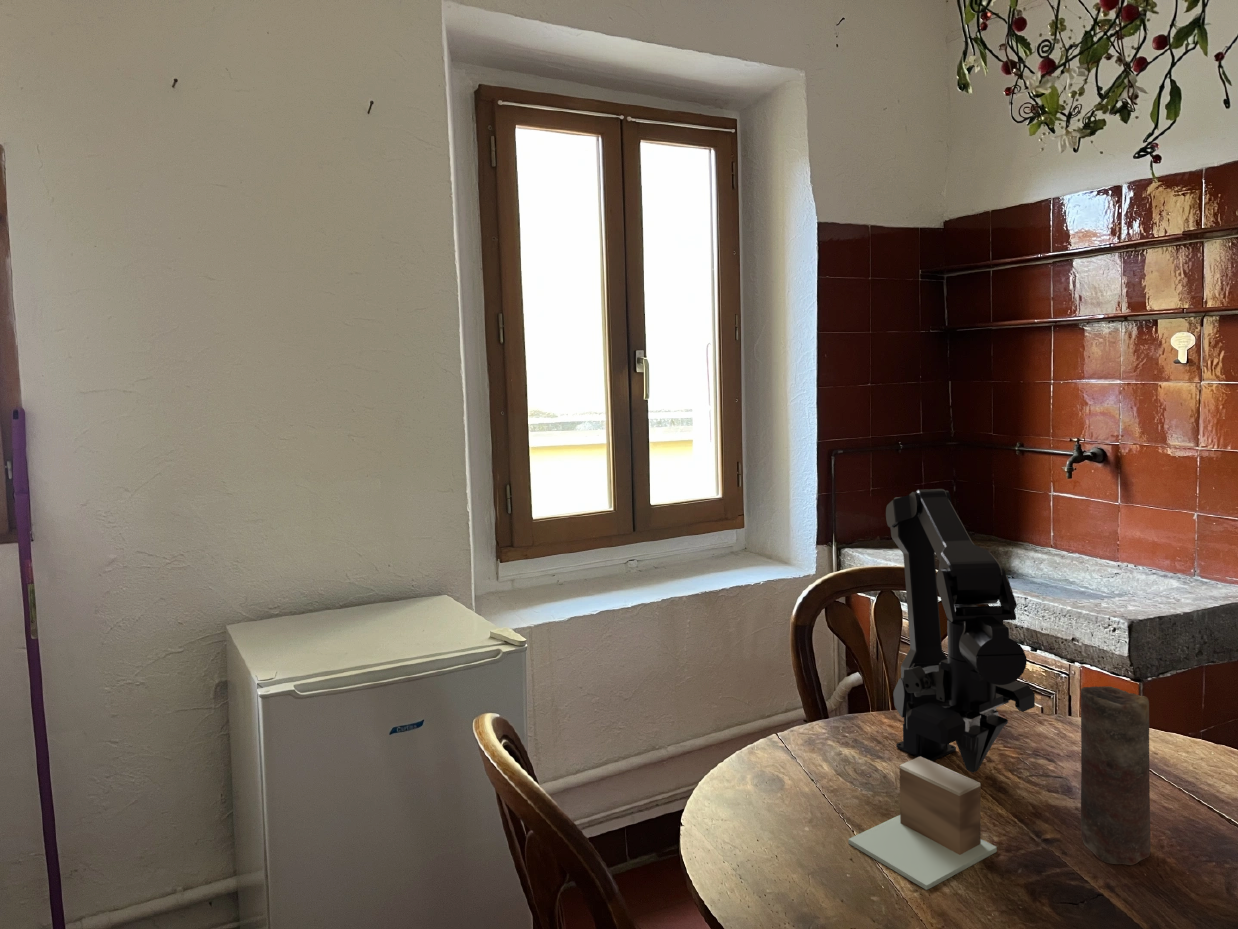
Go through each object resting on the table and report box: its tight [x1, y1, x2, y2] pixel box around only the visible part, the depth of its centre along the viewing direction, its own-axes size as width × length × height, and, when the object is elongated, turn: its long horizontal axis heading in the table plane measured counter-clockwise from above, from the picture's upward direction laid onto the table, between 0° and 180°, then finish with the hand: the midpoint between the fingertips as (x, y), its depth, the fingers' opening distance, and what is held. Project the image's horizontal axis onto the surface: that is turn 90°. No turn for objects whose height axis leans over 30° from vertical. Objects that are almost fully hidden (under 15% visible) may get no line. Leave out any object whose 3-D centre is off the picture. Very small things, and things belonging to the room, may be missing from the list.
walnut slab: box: [899, 756, 982, 855], centre depth 109 cm, size 4×9×8 cm, turn 32°
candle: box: [1080, 685, 1151, 866], centre depth 104 cm, size 8×7×20 cm
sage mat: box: [847, 814, 998, 891], centre depth 107 cm, size 13×12×1 cm
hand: (971, 771), depth 112 cm, fingers closed
